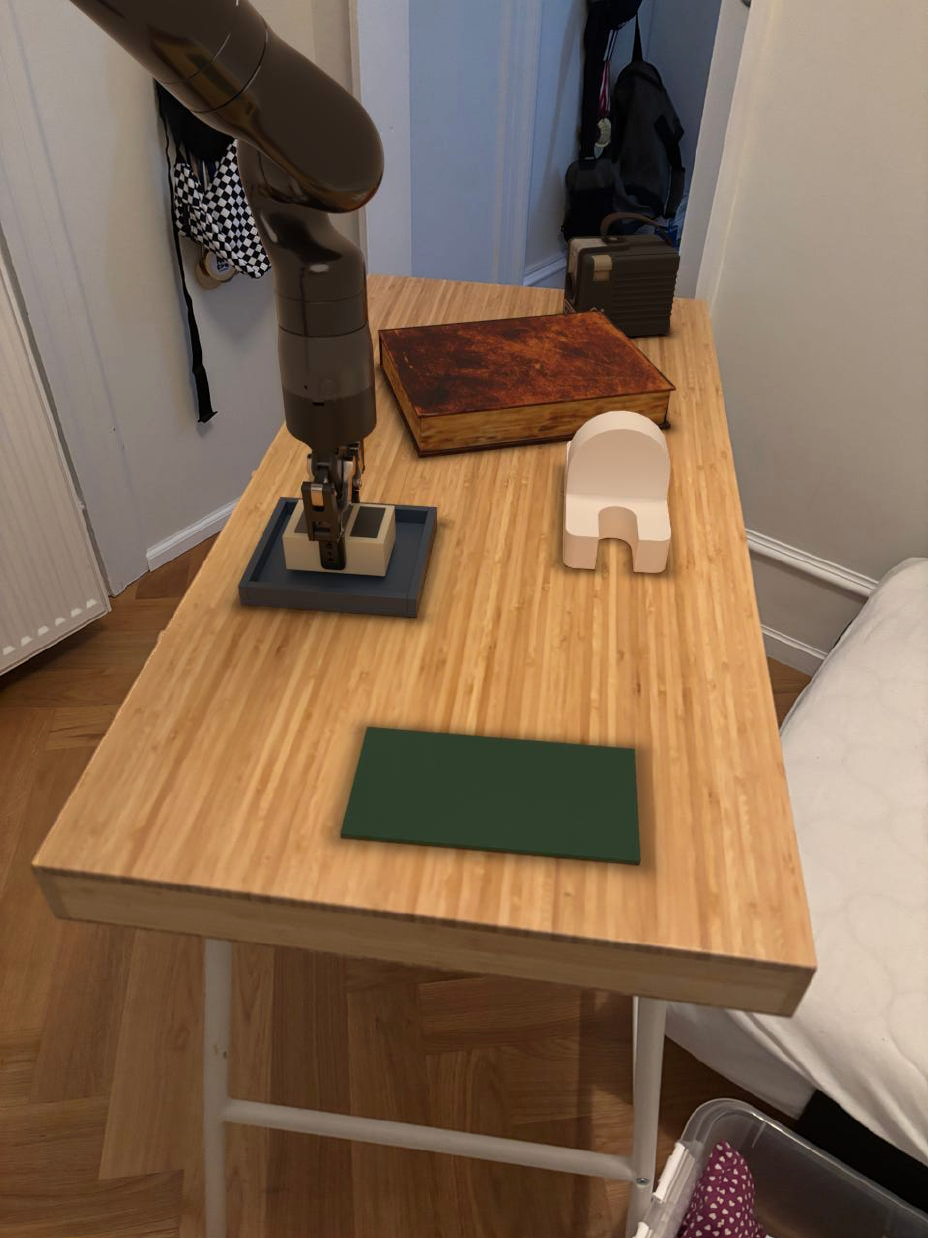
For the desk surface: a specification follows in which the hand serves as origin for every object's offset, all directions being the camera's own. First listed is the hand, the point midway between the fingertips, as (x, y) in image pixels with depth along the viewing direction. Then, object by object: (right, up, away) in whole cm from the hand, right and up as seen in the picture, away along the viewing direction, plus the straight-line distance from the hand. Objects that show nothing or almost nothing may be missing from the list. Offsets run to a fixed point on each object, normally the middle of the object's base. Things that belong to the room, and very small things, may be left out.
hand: (341, 545), depth 86 cm
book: (+18, +20, +29) cm, 39 cm away
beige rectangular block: (0, -1, +1) cm, 1 cm away
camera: (+32, +35, +46) cm, 66 cm away
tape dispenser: (+26, +3, +8) cm, 27 cm away
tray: (0, -1, +1) cm, 2 cm away
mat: (+13, -19, -20) cm, 30 cm away
